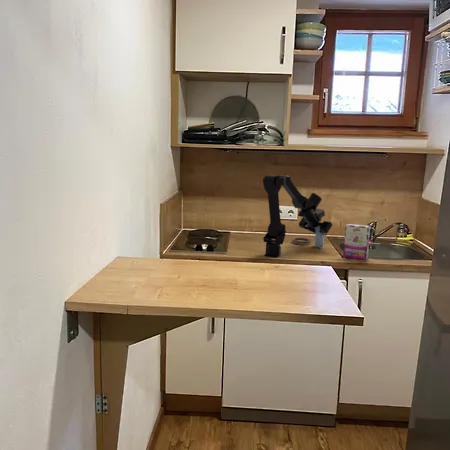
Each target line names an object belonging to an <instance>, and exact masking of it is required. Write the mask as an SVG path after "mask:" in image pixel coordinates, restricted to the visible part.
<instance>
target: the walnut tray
mask: <svg viewBox="0 0 450 450" xmlns="http://www.w3.org/2000/svg"><path fill="white" fill-rule="evenodd" d="M291 242H292V244H293V245H298V246H309V245H312V244H311V242H312V239H311V238H307V237H293V238H292V240H291Z"/></svg>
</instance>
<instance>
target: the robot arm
mask: <svg viewBox="0 0 450 450" xmlns="http://www.w3.org/2000/svg"><path fill="white" fill-rule="evenodd" d="M262 184H263V188H264V190H265V192H266V193H267V198H268V199H267V200H268V209H269V212H268V213H269V221H270V222H269V224H268V226H267V232H266V233H265V235H264V236H263V238H262V240H263V243H265V253H264V254H263V256H265V257H271V258H278V257H279V256H281V254H282V253H281V252H282V245H283V243H284V242H285V237H286V233H287V230H286V224H283V223H282V219H281V210H280V199H279V197H280V196H279V192H280V190H281V188H282V187H283V189H284V190H285V191H286V193H287V194H288V195H289V197H290V198H291V203H292V205H293V207H294V208H295V209H298V210H299V211H298V214H297V216H298V217H301V219H300V221H299V222H298V227H299V228H301V229H304V230H306V231H309V232H311V233H313V234H315V233H316V228H317V227H320V231H319V232H320V233H321V234H323V235H324V237H326V236H328V233H329V232H330V229H331V228H332V227H333V223H332V222H331V221H328V220H324V221H323V222H321V221H322V218H324V217H325V216H326V213H325V209H324V208H318V207H319V205H320V204H321V202H322V200H323V199H322V197H321V196H319V195H317V194H316V193H315V192H312V193H311V194H310V196H309V197H308V198H307V197H306V196H305V195H303V194H301V192H300V191H299V189H298V188H297V187H296V184H294V182H293V181H292V180H291V176H289V175H275V174H274V175H272V174H266V175H264V177H263V178H262Z"/></svg>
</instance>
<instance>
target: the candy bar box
mask: <svg viewBox="0 0 450 450" xmlns="http://www.w3.org/2000/svg"><path fill="white" fill-rule="evenodd" d="M344 229H345V232H344V243H343V244H344V246H343V255H342V257H343V258H347V259H352V260H353V259H354V260H360V261H366V259H367V260H368V258H369V248H370V237H371V225H366V224H365V225H364V224H354V223H346V224H345V228H344Z"/></svg>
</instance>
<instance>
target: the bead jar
mask: <svg viewBox="0 0 450 450" xmlns="http://www.w3.org/2000/svg"><path fill="white" fill-rule="evenodd" d="M315 229H316V233H314V235H315V236H314V247H315V248H317V247H319V248H321V247H323V248H324V241H325V236H324V235H323V234H321V233H320V232H319V231H320V227H317V228H316V227H315ZM319 248H318V249H319ZM321 249H322V248H321Z"/></svg>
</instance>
